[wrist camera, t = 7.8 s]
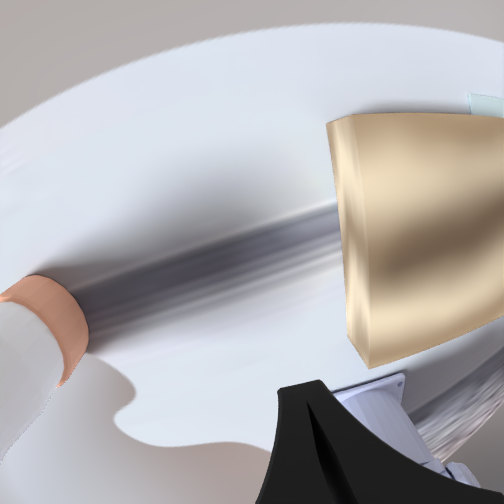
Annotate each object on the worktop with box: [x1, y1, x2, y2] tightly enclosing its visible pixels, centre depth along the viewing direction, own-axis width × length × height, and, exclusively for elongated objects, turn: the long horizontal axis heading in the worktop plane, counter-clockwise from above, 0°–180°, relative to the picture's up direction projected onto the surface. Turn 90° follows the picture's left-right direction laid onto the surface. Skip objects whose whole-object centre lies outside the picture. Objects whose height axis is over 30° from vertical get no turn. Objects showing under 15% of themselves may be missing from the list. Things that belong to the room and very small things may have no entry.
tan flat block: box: [326, 113, 504, 369], centre depth 17 cm, size 14×12×4 cm
